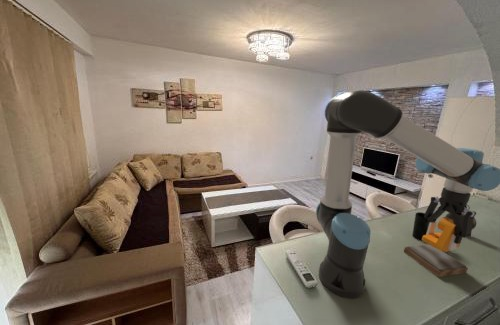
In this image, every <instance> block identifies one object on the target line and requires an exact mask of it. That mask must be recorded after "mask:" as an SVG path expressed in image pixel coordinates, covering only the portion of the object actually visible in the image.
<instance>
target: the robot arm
mask: <svg viewBox="0 0 500 325" xmlns="http://www.w3.org/2000/svg"><path fill="white" fill-rule="evenodd" d="M324 117H325V119H326V122H327V124H326V133H327V134H328V135H329V136H330V138H329V139H330V140H329V141H330V142H329V149H328V150H329V151H328V161H327V170H326V171H327V172H326V182H325V192H324V195H323V196H322V197H321V198H320V202H319V203H318V204H317V206H316V209H315V212H316V213H315V215H316V219H317V221H318V223H319V225H320V226H321V228H322V230H323V232H324V234H325V236H326V237H327V239H328V245H327V253H326V255H325V257H323V258H324V259H323V261H322V262H320V264H319V268H318V277H319V280H320V281H321V283H322V285H323V286H324V287H325V288H326V289H328V290H329V291H330V292H332V293H334V294H335V295H337V296H340V297H343V298H346V299H356V298H359V297H361V296H362V295H363V294H364V292H365V288H366V278H365V273H364V264H365V261H366V256H367V253H368V252H367V251H368V248H369V244H370V242H371V228H370V226H369V224H368V223H367V222H366V221H365V219H363V218H361V217H358V215H355V214H352V210H353V202H352V201H351V200H350V199H349V198H350V189H351V183H352V181H351V180H352V174H353V168H354V166H353V165H354V159H355V150H356V145H357V138H358V137H359V136H360V135H362V133H366V134H368V135H371V136H373V137H375V138H376V139H382V138H383V139H385V140H386V141H388V142H390V143H392V144H393V145H395V146H397V147H398V148H400V149H402V150H404V151H405V152H407V153H409V154H411V155H412V156H414V157H416V159H415V163H414V164H415V165H414V166H415V168H416V169H417V171H418V172H420V173H423V174H428V175H429V174H433V175H436V176H439V177H442V178H445V181H444V184H443V186H444V187H442V190H441V193H440V197H439V196H431V197H430V202H429V204H428V206H427V209H426V211H425V212H424V213H425V214H424V217H425V218H427V219H428V223H427V228H428V230H427V233H426V235H428V234H432V233H435V230H436V226H437V225H438V223H437V220H438V219H439V218H440V217H441V216H442V215H443V214H444V213H445V212H447V213H451V215H452V217H453V222H454V224H455V225H456V226H455V234H452V237H451V240H450V243H449V246H448V249H449V250H450V251H453V250H456V249H457V247H456V246H457V244H460V245H461V242H462V239H463V238H471V236H472V233H473V232H472V231H473V229H472V225H473V218H475V217H476V215H477V212H476V211H472V210H470V209H469V208H468V206H467V205H468V203H469V201H470V198H471V195H472V194H471V193H472V192H473V189H475V190H478V191H481V192H488V191H489V192H490V191H493V190H495V189H496V188H498V187H499V186H500V168H499V167H497V166H494V165H492V164H488V163H484V162H483V160H484V156H485V152H483V151H482V150H479V149H472V148H465V147H463V148H462V147H455V146H453V144H450V143H449V142H448V141H445V140H443V139H442V138H440V137H439V136H437V135H435V134H434V133H432V132H431V131H429V130H427V129H425V127H422V126H421V125H419V124H417V123H415V122H414V121H412V120H411V119H409V118H407V117H406V116H404V111H403V110H402V109H401V108H399V107H398V106H396V105H395V104H392V103H391V102H389V101H387V100H386V99H385V98H382V97H381V96H379V95H377V94H376V93H373V92H371V91H368V90H354V91H350V92H343V93H340V94H337V95H336V96H334V97H332V98H330V100H329V101H328V103H327V104H326V105H325V108H324ZM439 204H440V206H439ZM438 206H439V207H438ZM463 211H464V212H465V213H464V215H465V216H464V221H463V223H462V212H463ZM456 214H457V215H456ZM435 220H436V221H435ZM434 221H435V222H434Z"/></svg>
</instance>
